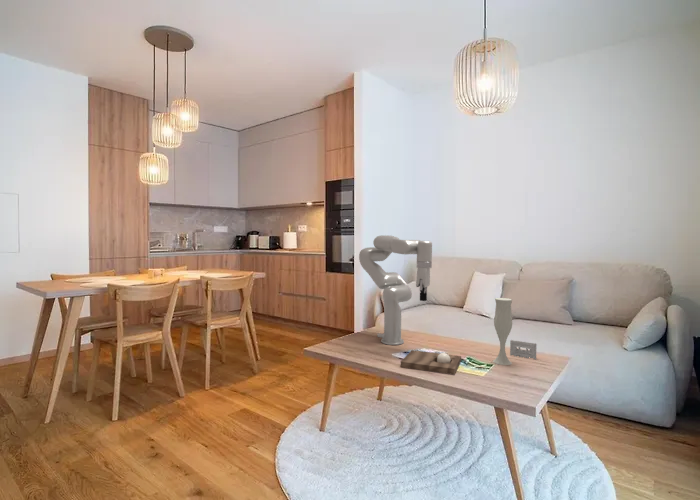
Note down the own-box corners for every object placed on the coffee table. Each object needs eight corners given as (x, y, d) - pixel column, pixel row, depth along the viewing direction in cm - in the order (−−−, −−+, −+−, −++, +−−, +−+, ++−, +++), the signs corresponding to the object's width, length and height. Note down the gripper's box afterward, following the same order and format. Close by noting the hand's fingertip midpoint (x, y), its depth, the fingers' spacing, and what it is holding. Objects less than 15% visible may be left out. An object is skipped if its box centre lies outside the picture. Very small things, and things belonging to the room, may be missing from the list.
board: (400, 367, 179) (400, 361, 179) (411, 355, 197) (411, 350, 197) (454, 374, 169) (454, 368, 169) (461, 361, 188) (461, 356, 188)
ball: (451, 362, 176) (441, 370, 178) (454, 359, 181) (444, 367, 183) (442, 351, 178) (432, 359, 180) (445, 349, 183) (436, 357, 185)
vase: (488, 360, 189) (489, 298, 188) (502, 358, 193) (503, 297, 192) (502, 366, 181) (503, 301, 180) (516, 363, 185) (517, 300, 184)
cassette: (509, 355, 198) (510, 340, 198) (510, 354, 199) (510, 339, 199) (535, 359, 191) (536, 344, 191) (536, 358, 193) (536, 343, 192)
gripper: (420, 263, 210) (419, 297, 211) (412, 265, 196) (411, 302, 197) (434, 264, 206) (433, 299, 207) (427, 266, 193) (426, 303, 194)
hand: (423, 300), depth 202 cm, fingers closed
